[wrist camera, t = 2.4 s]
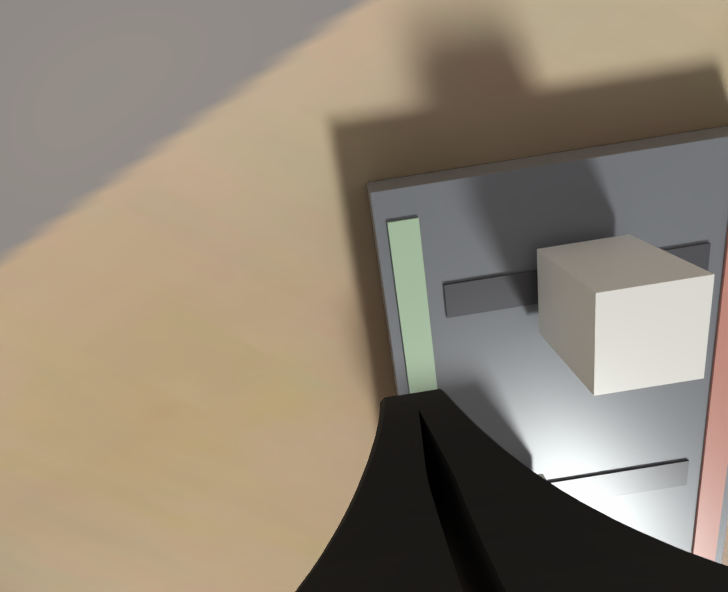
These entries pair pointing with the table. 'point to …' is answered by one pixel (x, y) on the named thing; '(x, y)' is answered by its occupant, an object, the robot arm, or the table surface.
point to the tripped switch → (624, 313)
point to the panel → (521, 320)
